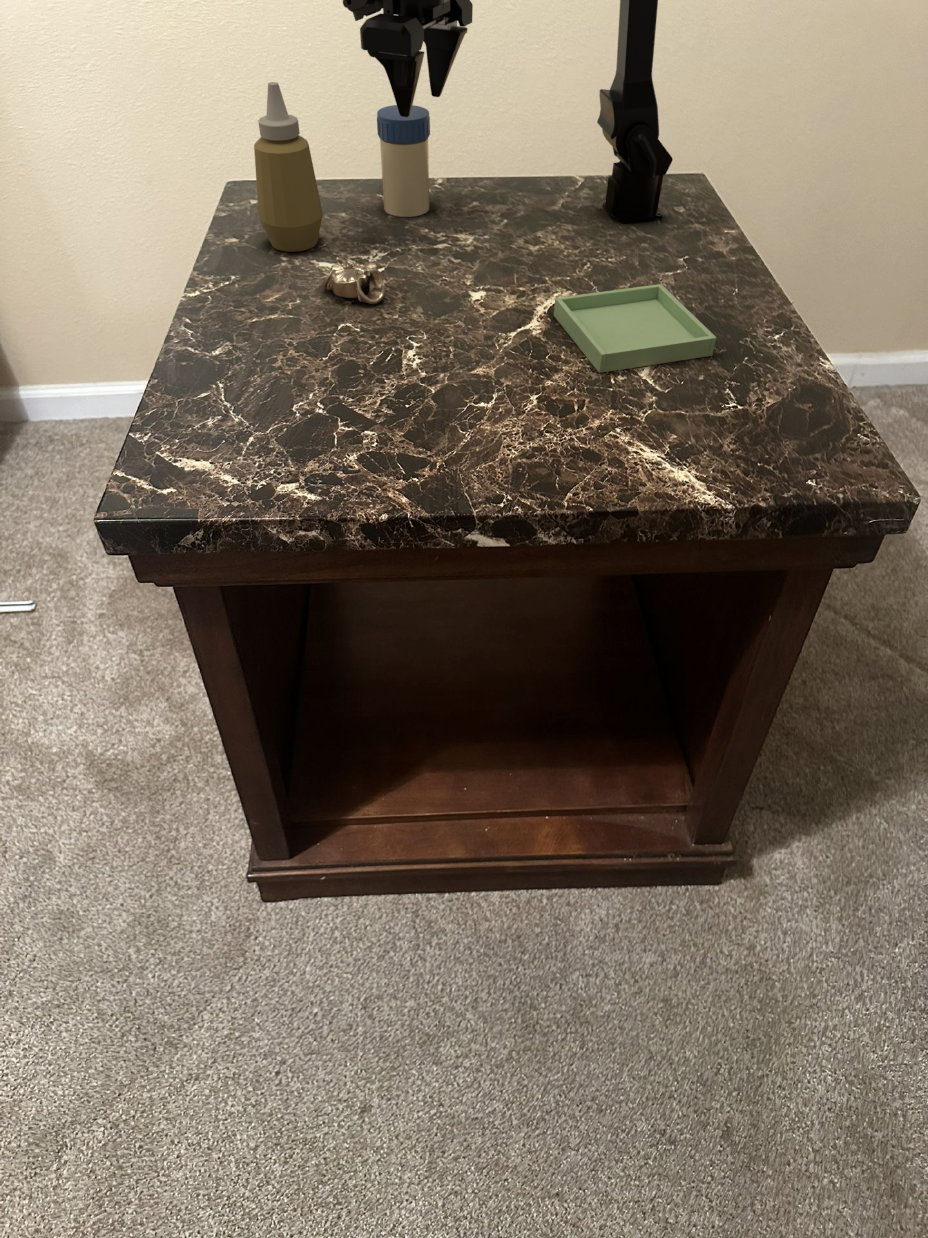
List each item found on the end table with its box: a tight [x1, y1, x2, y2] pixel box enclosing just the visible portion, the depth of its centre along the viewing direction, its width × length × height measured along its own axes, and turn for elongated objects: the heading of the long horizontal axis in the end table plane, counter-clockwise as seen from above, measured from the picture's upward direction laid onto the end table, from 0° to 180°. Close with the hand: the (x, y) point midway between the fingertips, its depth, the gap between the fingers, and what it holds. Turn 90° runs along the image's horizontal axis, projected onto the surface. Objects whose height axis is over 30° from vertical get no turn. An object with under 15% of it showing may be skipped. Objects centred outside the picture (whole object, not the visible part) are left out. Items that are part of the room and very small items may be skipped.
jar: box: [379, 137, 430, 218], centre depth 112 cm, size 6×6×11 cm
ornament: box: [322, 256, 386, 305], centre depth 96 cm, size 8×7×4 cm
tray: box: [553, 283, 717, 374], centre depth 91 cm, size 13×13×2 cm
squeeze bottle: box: [253, 81, 324, 253], centre depth 101 cm, size 8×8×18 cm
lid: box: [376, 104, 431, 144], centre depth 108 cm, size 7×7×3 cm
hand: (420, 105), depth 102 cm, fingers open, 9 cm apart
